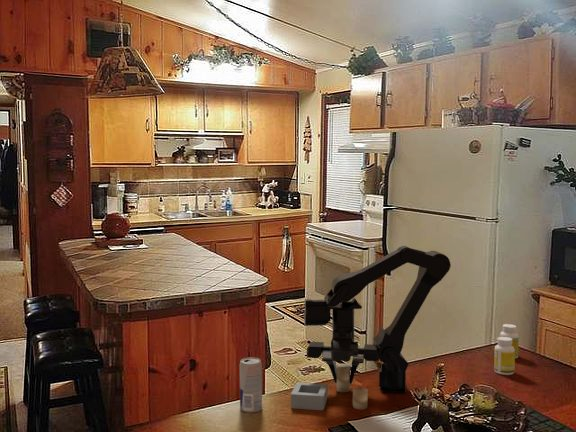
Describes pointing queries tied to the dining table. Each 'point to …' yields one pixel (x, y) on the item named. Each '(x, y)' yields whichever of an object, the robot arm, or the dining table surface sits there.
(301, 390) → the hole block
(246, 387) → the energy drink
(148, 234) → the dining table surface
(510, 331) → the supplement bottle
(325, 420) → the dining table surface
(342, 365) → the beige peg
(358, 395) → the short pin
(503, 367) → the supplement bottle
